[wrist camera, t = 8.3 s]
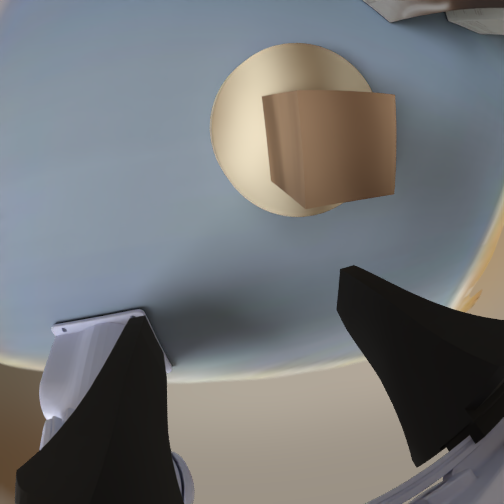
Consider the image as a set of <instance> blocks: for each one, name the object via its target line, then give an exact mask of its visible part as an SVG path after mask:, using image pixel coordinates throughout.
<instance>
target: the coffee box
mask: <svg viewBox="0 0 504 504" xmlns="http://www.w3.org/2000/svg"><path fill="white" fill-rule="evenodd" d="M363 1H364V2H365V3H367V4H368V5H369V6H371V7H372V8H373V9H374V10H376V11H377V12H378V13H379V14H381V15H382V16H383V17H384V18H385V19H386V20H388V21H389V22H395V21H399V20H403V19H407V18H412V17H416V16H421V15H428V14H433V13H440V12H446V11H454V10H464V9H476V8H504V0H363Z"/></svg>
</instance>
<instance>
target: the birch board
mask: <svg viewBox="0 0 504 504" xmlns="http://www.w3.org/2000/svg"><path fill="white" fill-rule="evenodd" d="M296 90H340V91H359V92H372V90H371V88H370V86H369V85H368V83H367V82H366V80H365V79H364V77H363V76H362V75H361V74H360V72H359V71H358V70H357V69H356V68H355V67H354V66H353V65H352V64H351V63H349V62H348V61H347V60H345V59H344V58H343V57H341V56H340V55H338V54H336V53H334V52H332V51H330V50H328V49H325V48H322V47H319V46H315V45H311V44H303V43H288V44H281V45H276V46H273V47H270V48H267V49H264V50H262V51H260V52H258V53H256V54H254V55H253V56H251V57H250V58H248V59H247V60H246V61H244V62H243V63H242V64H241V65H239V66H238V67H237V68H236V69H235V70H234V71H233V72H232V73H231V74H230V75H229V76H228V77H227V79H226V80H225V81H224V83H223V84H222V85H221V87H220V89H219V91H218V93H217V95H216V98H215V100H214V103H213V106H212V111H211V117H210V136H211V143H212V147H213V151H214V154H215V156H216V159H217V161H218V163H219V165H220V167H221V168H222V170H223V172H224V173H225V175H226V176H227V178H228V179H229V180H230V182H231V183H232V184H233V186H234V187H235V188H236V189H237V190H238V191H239V192H240V193H241V194H242V195H243V196H244V197H245V198H246V199H248V200H249V201H250V202H252V203H253V204H255V205H256V206H258V207H260V208H262V209H264V210H266V211H269V212H271V213H275V214H279V215H282V216H290V217H305V216H312V215H317V214H320V213H324V212H326V211H329V210H331V209H333V208H335V207H337V206H339V205H340V204H342V203H338V204H332V205H327V206H321V207H316V208H310V209H304V208H303V207H302V206H301V205H300V204H299V203H297V202H296V201H295V200H294V199H293V198H291V197H290V196H289V195H288V194H286V193H285V192H284V191H283V190H282V189H280V188H279V187H278V186H277V185H275V184H274V183H273V182H272V181H271V177H270V167H269V157H268V148H267V138H266V129H265V120H264V112H263V103H262V96H267V95H272V94H278V93H283V92H290V91H296ZM372 93H373V92H372Z"/></svg>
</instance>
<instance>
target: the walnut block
mask: <svg viewBox="0 0 504 504" xmlns="http://www.w3.org/2000/svg"><path fill="white" fill-rule="evenodd" d="M262 103H263V112H264V120H265V129H266V138H267V148H268V157H269V167H270V177H271V181H272V182H273V183H274V184H275V185H277V186H278V187H279V188H280V189H282V190H283V191H284V192H285V193H286V194H288V195H289V196H290V197H291V198H293V199H294V200H295V201H296V202H297V203H299V204H300V205H301V206H302V207H303V208H304V209H310V208H316V207H321V206H327V205H332V204H338V203H344V202H350V201H355V200H361V199H367V198H374V197H380V196H386V195H392V194H394V189H395V172H396V106H395V95H392V94H383V93H372V92H359V91H340V90H296V91H290V92H283V93H278V94H272V95H267V96H262Z"/></svg>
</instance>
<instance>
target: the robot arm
mask: <svg viewBox="0 0 504 504" xmlns="http://www.w3.org/2000/svg"><path fill="white" fill-rule="evenodd" d="M337 312H338V314H339V316H340V318H341V320H342V322H343V324H344V325H345V327H346V329H347V331H348V332H349V334H350V335H351V337H352V338H353V340H354V341H355V343H356V344H357V346H358V347H359V348H360V350H361V351H362V353H363V354H364V356H365V357H366V358H367V360H368V361H369V363H370V364H371V366H372V367H373V369H374V370H375V372H376V373H377V375H378V376H379V378H380V380H381V382H382V384H383V386H384V388H385V390H386V392H387V394H388V396H389V397H390V400H391V402H392V404H393V406H394V409H395V411H396V413H397V415H398V418H399V421H400V423H401V426H402V428H403V431H404V434H405V437H406V440H407V443H408V446H409V450H410V453H411V457H412V461H413V462H414V464H415V466H416V467H419V466H421V465H422V464H423V463H425V462H426V461H428V460H429V459H431V458H432V457H434V456H435V455H436V454H438V453H439V452H440V451H442V450H443V449H445V448H446V447H447V449H448V450H449V452H448V453H447V454H445V455H444V456H443V457H442V458H440V459H439V460H437V461H436V462H435V463H433V464H432V465H430V466H429V467H428V468H426V469H425V470H423V471H422V472H420V473H419V474H417V475H416V476H414V477H412V478H411V479H409V480H408V481H406V482H404V483H403V484H401V485H399V486H398V487H396V488H394V489H392V490H390V491H389V492H387V493H385V494H383V495H381V496H379V497H377V498H375V499H373V500H371V501H369V502H367V503H365V504H402V503H404V502H406V501H407V500H409V499H411V498H412V497H414V496H415V495H417V494H418V493H420V492H421V491H423V490H424V489H426V488H427V487H429V486H430V485H432V484H433V483H434V482H436V481H437V480H439V479H440V478H441V477H443V481H442V482H440V483H438V484H437V485H435V486H433V487H431V488H430V489H428V490H426V491H425V492H423V493H422V494H420V495H418V496H417V497H416V498H414V499H413V500H412V501H410V502H409V503H408V504H504V320H498V319H491V318H486V317H481V316H476V315H472V314H468V313H464V312H461V311H457V310H454V309H451V308H448V307H445V306H442V305H440V304H437V303H434V302H432V301H429V300H427V299H424V298H422V297H420V296H417V295H415V294H413V293H411V292H409V291H406V290H404V289H402V288H400V287H398V286H396V285H394V284H392V283H390V282H388V281H386V280H384V279H382V278H380V277H378V276H376V275H374V274H372V273H370V272H368V271H366V270H364V269H362V268H359V267H357V266H355V265H353V266H349V267H346V268H342V269H340V278H339V290H338V300H337ZM132 315H134V316H136V317H132ZM64 328H65V329H64ZM51 330H52V332H53V333H54V335H55V336H56V337H55V339H54V342H53V345H52V348H51V351H50V354H49V357H48V360H47V363H46V366H45V369H44V372H43V376H42V379H41V383H40V390H39V395H40V403H41V408H42V411H43V414H44V416H45V418H46V422H45V424H44V428H43V433H42V438H41V444H40V450H39V452H38V453H36V454H35V455H34V456H33V457H32V458H31V459H30V460H29V461H27V462H26V463H25V464H24V465H23V466H21V467H20V468H19V469H18V470H17V472H16V487H15V504H193V501H194V483H193V479H192V476H191V473H190V471H189V469H188V467H187V465H186V463H185V461H184V460H183V459H182V458H181V457H180V456H179V455H178V454H177V453H175V452H172V451H171V449H170V442H169V436H168V421H167V376H166V373H169V372H171V371H172V366H171V364H170V362H169V360H168V358H167V356H166V354H165V353H164V351H163V349H162V347H161V345H160V343H159V341H158V339H157V337H156V335H155V333H154V331H153V329H152V326H151V324H150V322H149V320H148V318H147V316H146V314H145V312H144V311H143V310H141V309H136V310H131V311H126V312H121V313H116V314H110V315H105V316H100V317H94V318H89V319H83V320H77V321H72V322H66V323H60V324H54V325H53V326H52V328H51Z"/></svg>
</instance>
